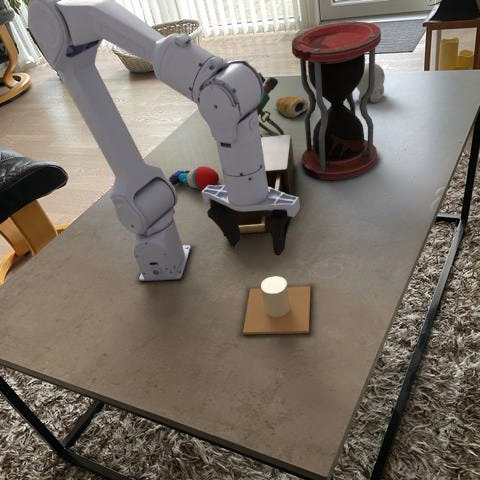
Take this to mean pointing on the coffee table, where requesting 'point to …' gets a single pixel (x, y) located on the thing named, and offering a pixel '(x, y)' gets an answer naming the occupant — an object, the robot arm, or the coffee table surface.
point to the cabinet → (279, 158)
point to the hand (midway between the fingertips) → (257, 247)
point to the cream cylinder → (275, 296)
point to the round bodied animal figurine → (377, 85)
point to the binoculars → (267, 87)
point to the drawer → (256, 219)
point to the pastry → (291, 106)
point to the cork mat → (287, 324)
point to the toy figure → (196, 177)
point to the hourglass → (337, 97)
